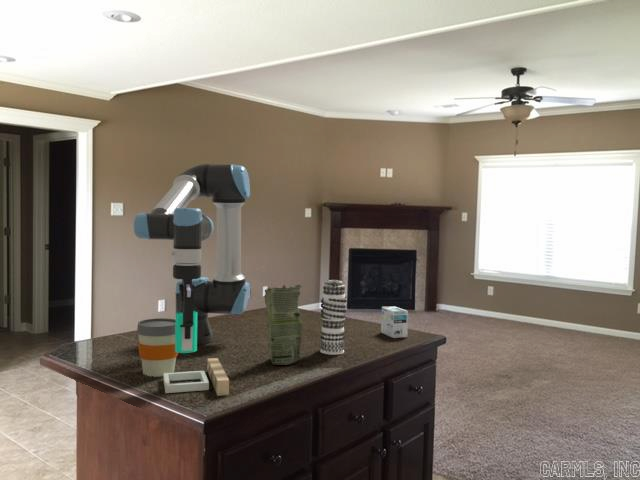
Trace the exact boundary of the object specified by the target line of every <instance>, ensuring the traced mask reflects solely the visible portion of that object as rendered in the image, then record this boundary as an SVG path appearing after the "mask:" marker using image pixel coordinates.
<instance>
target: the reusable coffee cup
mask: <svg viewBox="0 0 640 480" xmlns="http://www.w3.org/2000/svg"><path fill="white" fill-rule="evenodd" d="M136 334H137V335H138V341H137V347H138V354H139V356H138V357H139V358H140V360H141V368H142V373H143V374H142V375H144V374H145V375H144V376H146V375H147V377H152V376H153V377H156V378H159V377H164V373H175V369H176V368H175V367H176V362H177V361H176V360H177V357H178V355H179V353H178V352H175V319H174V318H165V317H164V318H162V317H159V318H157V317H156V318H149V319H148V318H147V319H143V320H140V321H138V324H137V328H136Z"/></svg>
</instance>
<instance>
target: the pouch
mask: <svg viewBox="0 0 640 480" xmlns="http://www.w3.org/2000/svg"><path fill="white" fill-rule="evenodd" d="M302 287H303V286H302V285H300V284H297V285H295V286H289V287H286V285H285V284H283V286H282V287H276V286H275V287H274V286H273V287H269V288H267V289H265V290H264V292H265V293H264V304H265V307H266V315H267V323H266V325H267V328H268V334H269V336H268V349H269V357H270V359H271V364H272V365H277V366H278V365H281V366H282V365H284V366H287V365H291V364H294V363H297V362H298V360H300V351H301V344H302V332H303V324H302V323H303V322H302V319H301V314H300V310H299V297H300V296H301V289H302Z"/></svg>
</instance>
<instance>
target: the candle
mask: <svg viewBox="0 0 640 480" xmlns="http://www.w3.org/2000/svg"><path fill="white" fill-rule="evenodd" d="M197 313H198V312H195V311H193V323H194V324H193V326H192V350H187V351H182V327H180V325H182V324H183V312H177V313H176V312H175V352H178V354H190V353H196V352H197V351H198V345H197Z"/></svg>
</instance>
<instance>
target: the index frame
mask: <svg viewBox="0 0 640 480" xmlns="http://www.w3.org/2000/svg"><path fill="white" fill-rule="evenodd" d="M162 379H163V386H164V393H165V394H171V393H173V394H174V393H185V392H196V391H197V392H198V391H200V392H201V391H209V389H210V382H209V379H208V377H207V374H206V372H205V370H194V371H193V370H191V371H179V372H178V371H177V372H176V371H174V373H164V376H162ZM189 380H200V381H195V382H179V383H171V382H175V381H189Z"/></svg>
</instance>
